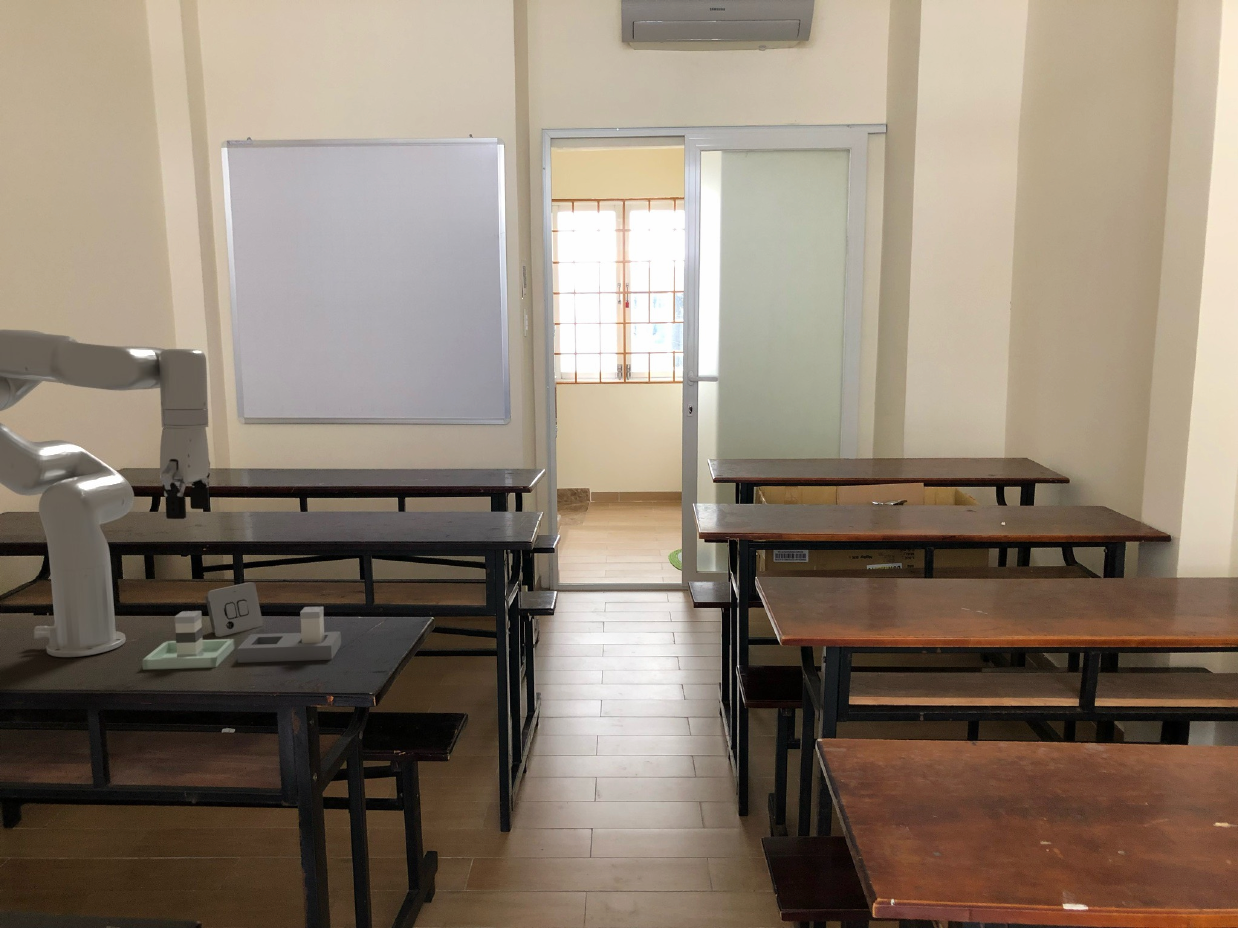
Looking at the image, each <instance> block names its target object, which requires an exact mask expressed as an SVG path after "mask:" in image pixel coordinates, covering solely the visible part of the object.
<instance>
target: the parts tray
mask: <svg viewBox="0 0 1238 928" xmlns="http://www.w3.org/2000/svg"><path fill="white" fill-rule="evenodd" d="M203 649H204V655H203V656H199V657H177V643H176V640H166V641H164V642H162V644H160V645H159V646H158V647H156V648H155V649H154V650H153V651H152V652H150V653H149V654H148V655H147V656H145V657H144V658H143V659H142V670H143V671H145V670H146V671H147V670H172V669H204V668H205V669H207V668H216V667H218V666H219V664H221V663H222V661H224V660H225V659H226V658H227V657H228V656H229V655H230V654H231V653H232V652H233V651H234V650H235V638H227V639H226V638H225V639H203Z"/></svg>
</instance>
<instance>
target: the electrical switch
mask: <svg viewBox="0 0 1238 928" xmlns="http://www.w3.org/2000/svg"><path fill="white" fill-rule="evenodd" d="M205 600H206V601H205V602H206V606H207V611H208V617H209V621H210V622H209V623H210V627H211V631H212V634H215V635H214V636H216V637H217V638H220V637H225V636H228V635H233V634H237V633H240V632H244V631H249V630H252V629H255V628H260V627H262V626H263V625H264V622H263V619H262V613H261V608H260V607H261V606H260V603H259V598H258V593H257V587H256V583H255V582H252V581H250V582H245V583H240V584H235V585H231V586H225V587H221V588H216V589H212V590H209V591H208V592H207V595H205Z"/></svg>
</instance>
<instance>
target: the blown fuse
mask: <svg viewBox="0 0 1238 928" xmlns="http://www.w3.org/2000/svg"><path fill="white" fill-rule="evenodd" d="M202 618H203V617H202V611H201V610H192V611H191V610H190V611H189V610H186V611H185V610H184V611H181V612H179V613H177V614H176V615H175V616H174V624H175V641H176V643H177V657H199V656H203V655H204V649H203V640H204V638H203V637H204V635H203V634H204V633H203V625H202V622H203V621H202Z"/></svg>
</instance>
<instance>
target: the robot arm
mask: <svg viewBox="0 0 1238 928" xmlns="http://www.w3.org/2000/svg"><path fill="white" fill-rule="evenodd" d="M207 371H208V370H207V356H206V354H205V353H204V352H203V351H202V350H200V349H192V348H168V349H166V348H161V347H156V346H155V347H154V346H132V345H130V346H127V345H126V346H118V345H117V346H115V345H102V344H93V343H83V342H78V340H76V339H75V338H74V337H73V336H69V335H60V334H52V333H51V334H50V333H49V334H48V333H44V332H41V331H38V330H30V329H29V330H27V329H0V412H3V411H5V410H8V409H10V408H11V407H13V406H15V405H16V404H17V403H19V402H20V401H21V400H22V399H23V398H24V397H26V396H27V395H28V394H29V393H31V392H32V391H33V390H34V389H35V388H37V387H38V386H39V385H40V384H41V383H42V382H46V383H47V382H49V383H57V384H63V385H67V386H68V385H69V386H73V387H82V388H89V389H97V390H99V389H100V390H107V391H121V392H122V391H133V390H134V391H135V390H154V389H159V391H160V394H159V395H160V415H161V416H160V417H161V428H162V430H161V438H160V448H159V449H160V452H159V480H160V482H161V483H162V489H163V490H164V491H163V495H164V497H165V516H166V517H165V518H166V519H168V520H170V519H171V520H184V519H186V518H187V504H186V503H187V501H186V495H184V492H185V489H186V485H189V484H191V487H189V497H190V499H189V500H190V502H189V503H190V509H191V510H208V509H210V493H209V492H210V490H209V489H210V488H209V486H210V481H209V478H210V467H211V461H210V457H209V456H210V454H209V444H208V435H207V429H206V428H209V408H208V407H209V406H208V405H209V404H208V403H209V402H208V400H209V399H208V376H207V375H208V373H207ZM0 485H3V486H4V487H5V488H7V489H8V490H9V491H12V492H13V493H15V494H18V495H20V496H28V497H29V496H36V495H41V496H40V499H39V502H38V513H39V517H40V521H41V523H42V524H41V525H42V527H43V530H44V534H45V537H46V538H45V539H46V544H47V550H48V558H49V559H48V560H49V562H48V563H49V569H50V570H49V571H50V581H51V595H52V605H53V607H52V609H53V618H54V624H53V625H51V626H48V625H37V626H35V627H34V630H33V634H34V635H33V638H34V639H35V640H43V639H48V640H49V643H48V644H47V645H46V647H45V649H46V653H47V654H48V655H50V656H52V657H58V658H76V657H77V658H79V657H85V656H87V657H88V656H92V655H97V654H101V653H107V652H109V651H112V650H115V649H117V648H119V647H121V646H123V645H124V644H125V643H126V640H127V638H126V634H125V633H123V632H121V631H117V630H116V621H115V606H114V591H113V577H112V564H111V555H110V554H111V553H110V547H109V544H108V541H107V539H106V536H105V535H104V532H103V530H102V529H101V525H103V524H106V523H109V522H112V521H116V520H118V519H121V518H123V517H124V516H125V515H127V514H128V513H129V512H130V511H131V510H132V507H133V506H134V504H135V503H134V501H135V493H134V490H133V487H132V486H131V484H130V482H129V480H127V479H126V478H125V477H124V476H123V475H121V473H119V472H118V471H116V470H115V469H114V468H112V467H111V466H109V464H107V463H105V462H103V461H102V460H100V459H99V458H98V457H96V456H95V455H93V454H92V453H90V452H89V451H87V450H86V449H85V448H83V447H81V446H80V445H78V444H76V443H73V442H70V441H66V440H61V439H55V440H45V441H32V440H29V439H26V438H24V437H23V436H21V435H20V434H18V433H16V432H15V431H14V430H12V429H11V428H9V427H8V426H7V425H5V424H3V423H1V422H0Z"/></svg>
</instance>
